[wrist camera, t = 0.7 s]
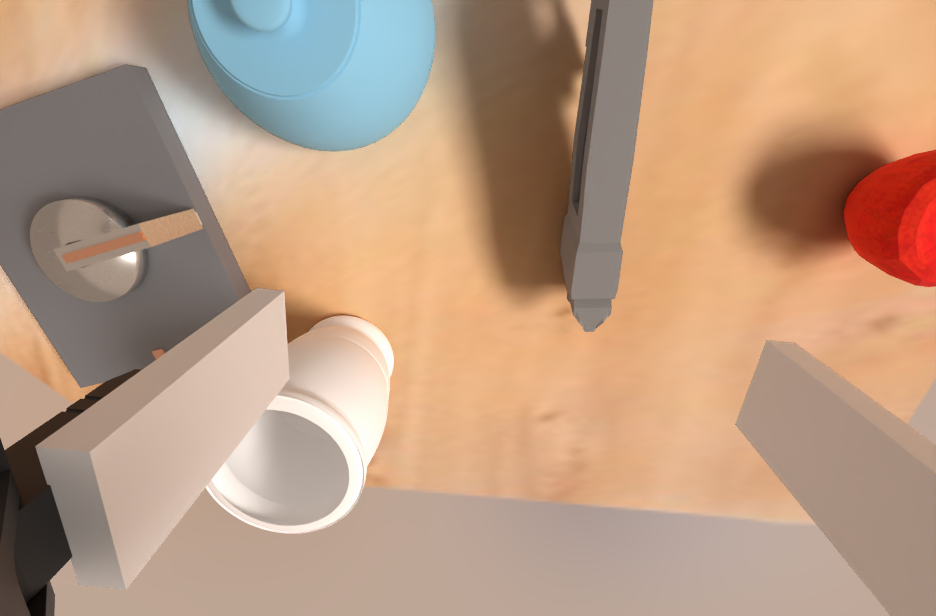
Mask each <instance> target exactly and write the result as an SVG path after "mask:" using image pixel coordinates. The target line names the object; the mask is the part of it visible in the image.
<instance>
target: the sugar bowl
mask: <svg viewBox="0 0 936 616" xmlns="http://www.w3.org/2000/svg"><path fill="white" fill-rule="evenodd" d="M187 3H188V10H189V17H190V22H191V26H192V30H193V34H194V37H195V40H196V43H197V46H198V48H199V51H200V53H201V56H202V58H203V60H204V62H205V64H206V66H207V68H208V70H209V72H210V73H211V75H212V77H213V78H214V80H215V81H216V83H217V84H218V86H219V87H220V88H221V90H222V91H223V92H224V93H225V95H226V96H227V97H228V98H229V99H230V101H231V102H232V103H233V104H234V105H235V106H236V107H237V108H238V109H239V110H240V111H241V112H242V113H243V114H244V115H246V116H247V117H248V118H249V119H250V120H252V121H253V122H254V123H256V124H257V125H259V126H260V127H262V128H263V129H265V130H266V131H268V132H269V133H271V134H273V135H275V136H277V137H279V138H281V139H283V140H285V141H287V142H290V143H293V144H296V145H299V146H302V147H304V148H309V149H314V150H319V151H346V150H353V149H357V148H362V147H365V146H367V145H370V144H372V143H375V142H377V141H378V140H380V139H382V138H384V137H386V136H387V135H388V134H390V133H391V132H392V131H393V130H395V129H396V128H397V127H398V126H399V125H400V124H401V123H402V122H403V121H404V120H405V119H406V118H407V117H408V115H409V114H410V113H411V111H412V110H413V109H414V107H415V106H416V104H417V102H418V100H419V98H420V97H421V95H422V93H423V90H424V88H425V85H426V83H427V80H428V77H429V74H430V70H431V66H432V62H433V55H434V48H435V20H434V11H433V6H432V1H431V0H187Z"/></svg>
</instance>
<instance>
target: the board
mask: <svg viewBox="0 0 936 616" xmlns="http://www.w3.org/2000/svg"><path fill="white" fill-rule="evenodd" d="M78 197H89V198H95V199H98V200H102V201H104V202H107V203H109V204H111V205H113V206H114V207H116V208H118V209H119V210H120V211H122V212H123V213H124V214H125V215H126V216H127V217H129V218H130V220H131V221H132V222H133V223H134V224H139V223H142V222H146V221H150V220H153V219H157V218H161V217H164V216H168V215H172V214H175V213H179V212H183V211H186V210H190V209H194V210H195V213H196V215H197V217H198V219H199V221H200V223H201V225H202V227H203V229H201V230H198V231H195V232H192V233H189V234H187V235H184V236H181V237H178V238H175V239H172V240H170V241H167V242H164V243H161V244H158V245H156V246H153V247H150V248H147V250H148V255H149V267H148V271H147V274H146V277H145V279H144V280H143V282H142V283H141V284H140V286H139V287H137V288H136V289H135V290H133V291H131V292H129V293H127V294H125V295H123V296H121V297H119V298H116V299H114V300H111V301H106V302H91V301H86V300H83V299H79V298H77V297H74V296H72V295H70V294H68V293H67V292H65V291H63V290H62V289H60V288H59V287H58V286H57V285H55V284H54V283H53V282H52V281H51V280H50V279H49V278H48V277H47V276H46V274H45V273H44V272H43V271H42V269H41V268H40V266H39V265H38V263H37V261H36V259H35V257H34V254H33V251H32V248H31V243H30V228H31V224H32V221H33V219H34V217H35V215H36V214H37V212H38V211H39V210H40V209H41V208H43V207H44V206H46V205H47V204H49V203H52V202H55V201H59V200H65V199H71V198H78ZM0 265H1V267H2V268H3V270H4V271H5V273H6V274H7V276H8V277H9V279H10V280H11V282H12V283H13V285H14V287H15V288H16V290H17V291H18V293H19V294H20V296H21V297H22V299H23V300H24V302H25V303H26V305H27V306H28V308H29V310H30V311H31V313H32V314H33V316H34V317H35V319H36V320H37V322H38V323H39V325H40V326H41V328H42V329H43V331H44V332H45V334H46V336H47V337H48V339H49V340H50V342H51V343H52V345H53V346H54V348H55V349H56V351H57V352H58V354H59V355H60V357H61V359H62V360H63V362H64V363H65V365H66V366H67V368H68V369H69V371H70V372H71V374H72V375H73V377H74V378H75V380H76V382H77V383H78V385H79V386H80V388H82V387H86V386H90V385H94V384H98V383H102V382H106V381H108V380H110V379H113V378H115V377H117V376H120V375H122V374H125V373H127V372H130V371H132V370H134V369H141V370H143V369H144V368H145V367H147V366H148V365H150V364H151V363H152V362H154V361H155V360H157V359H158V358H159V357H161V356H162V355H164V354H165V353H166V352H168V351H169V350H171V349H172V348H173V347H175V346H176V345H177V344H179V343H180V342H182V341H183V340H184V339H186V338H187V337H189V336H190V335H191V334H193V333H194V332H196V331H197V330H198V329H200V328H201V327H203V326H204V325H205V324H207V323H208V322H210V321H211V320H212V319H214V318H215V317H217V316H218V315H219V314H221V313H222V312H224V311H225V310H226V309H228V308H229V307H231V306H232V305H233V304H235V303H236V302H238V301H239V300H240V299H242V298H243V297H245V296H246V295H247V294H249V293H250V292H251V291H250V289H249V287H248V285H247V283H246V281H245V278H244V276H243V274H242V272H241V270H240V268H239V266H238V263H237V261H236V259H235V257H234V255H233V253H232V251H231V249H230V246H229V244H228V242H227V240H226V238H225V236H224V234H223V231H222V229H221V227H220V225H219V223H218V221H217V219H216V216H215V214H214V212H213V210H212V208H211V206H210V204H209V201H208V199H207V197H206V195H205V193H204V191H203V189H202V186H201V184H200V182H199V180H198V178H197V176H196V174H195V172H194V169H193V167H192V165H191V163H190V161H189V159H188V157H187V154H186V152H185V150H184V148H183V146H182V144H181V142H180V139H179V137H178V135H177V133H176V131H175V129H174V127H173V124H172V122H171V120H170V118H169V116H168V114H167V112H166V110H165V107H164V105H163V103H162V101H161V99H160V97H159V95H158V92H157V90H156V88H155V86H154V84H153V82H152V80H151V77H150V75H149V73H148V71H147V69H146V68H143V67H137V66H132V65H124V66H121V67H118V68H115V69H112V70H110V71H107V72H104V73H101V74H98V75H96V76H93V77H90V78H87V79H84V80H82V81H79V82H76V83H73V84H70V85H68V86H65V87H62V88H59V89H56V90H54V91H51V92H48V93H45V94H42V95H40V96H37V97H34V98H31V99H28V100H26V101H23V102H20V103H17V104H14V105H12V106H9V107H6V108H3V109H0Z"/></svg>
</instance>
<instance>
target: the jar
mask: <svg viewBox="0 0 936 616" xmlns="http://www.w3.org/2000/svg"><path fill="white" fill-rule="evenodd" d="M288 360H289V377H290V379H289V380H288V381H287V383H286V384H285V385H284V387H283V388H282V389H281V391H280V392H279V393H278V394H277V396H276V397H275V398H274V400H273V401H272V402H271V403H270V405H269V406H268V407H267V409H266V410H265V411H264V412H263V414H262V415H261V416H260V418H259V419H258V420H257V421H256V423H255V424H254V425H253V427H252V428H251V429H250V431H249V432H248V433H247V434H246V436H245V437H244V438H243V440H242V441H241V442H240V443H239V445H238V446H237V447H236V449H235V450H234V451H233V452H232V454H231V455H230V456H229V458H228V459H227V460H226V461H225V463H224V464H223V465H222V467H221V468H220V469H219V471H218V472H217V473H216V474H215V476H214V477H213V478H212V480H211V481H210V482H209V483H208V485H207V486H206V488H207V490H208V492H209V493H210V494H211V495H212V497H213V498H214V499H215V500H216V501H217V502H218V503H219V504H220V505H221V506H222V507H223V508H224V509H225V510H227V511H228V512H230V513H231V514H232V515H234V516H235V517H237V518H239V519H240V520H242V521H244V522H246V523H248V524H251V525H253V526H255V527H258V528H261V529H265V530H268V531H273V532H279V533H291V534H294V533H307V532H312V531H317V530H320V529H323V528H326V527H328V526H331V525H332V524H334V523H336V522H338V521H339V520H341V519H342V518H343V517H345V516H346V515H347V514H348V513H349V512H350V511H351V510H352V509H353V507H354V506H355V505H356V503H357V501H358V499H359V497H360V495H361V492H362V489H363V487H364V484H365V479H366V472H367V466H368V464H369V462H370V461H371V459H372V457H373V455H374V453H375V451H376V449H377V447H378V445H379V442H380V440H381V437H382V434H383V431H384V428H385V424H386V419H387V413H388V399H389V392H390V376H391V374H392V371H393V365H394V357H393V352H392V348H391V346H390V343H389V342H388V340H387V338H386V337H385V335H384V334H383V333H382V332H381V331H380V330H379V329H378V328H377V327H376V326H374V325H373V324H371V323H370V322H368V321H366V320H364V319H361V318H358V317H354V316H346V315H342V316H333V317H329V318H326V319H324V320H322V321H320V322H318V323H317V324H316V325H314V326H313V327H312V328H311V329H310V330H309V331H308V332H307V333H305V334H303V335H301V336H299V337H298V338H296V339H294V340H293V341H291V342H290V343H288Z"/></svg>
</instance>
